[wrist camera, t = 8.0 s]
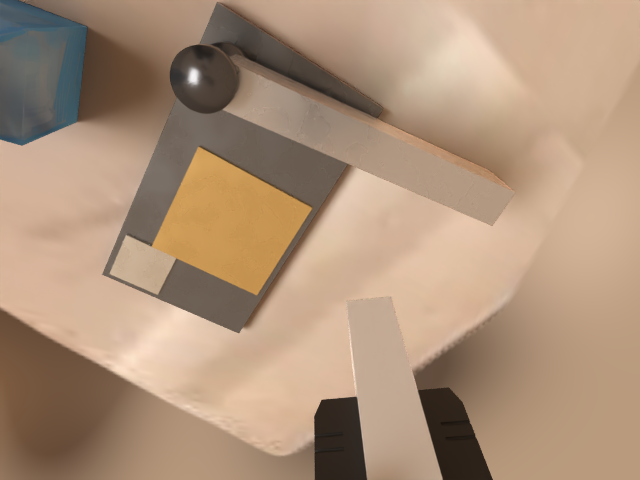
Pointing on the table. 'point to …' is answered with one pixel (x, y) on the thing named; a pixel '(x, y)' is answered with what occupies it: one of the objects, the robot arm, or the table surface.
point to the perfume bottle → (38, 71)
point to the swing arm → (334, 130)
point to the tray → (227, 192)
